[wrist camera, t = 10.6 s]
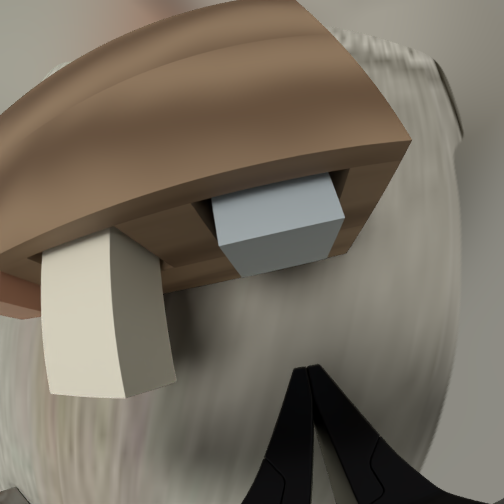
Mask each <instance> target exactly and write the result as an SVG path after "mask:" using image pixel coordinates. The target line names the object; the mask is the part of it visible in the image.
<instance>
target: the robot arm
mask: <svg viewBox="0 0 504 504" xmlns="http://www.w3.org/2000/svg"><path fill="white" fill-rule="evenodd" d="M314 427H315V431H316V434H317V438H318V441H319V444H320V448H321V451H322V455H323V458H324V462H325V465H326V469H327V472H328V476H329V479H330V483H331V486H332V490H333V493H334V497H335V501H336V504H488V503H484V502H479V501H474V500H471V499H467V498H464V497H460V496H457V495H453V494H450V493H448V492H445V491H443V490H442V489H440V488H438V487H436V486H435V485H434V484H432V483H431V482H430V481H429V480H427V479H426V478H425V477H424V476H422V475H421V474H420V473H419V472H417V471H416V470H415V469H414V468H412V467H411V466H410V465H409V464H408V463H407V462H405V461H404V460H403V459H402V458H401V457H400V456H399V455H398V454H397V453H396V452H395V451H394V450H393V449H392V448H391V447H390V446H389V445H388V444H387V443H386V441H385V440H384V439H383V438H382V437H379V436H380V435H379V434H378V432H377V431H376V430H375V429H374V428H373V427H372V425H371V424H370V423H369V422H368V421H367V420H366V418H365V417H364V416H363V415H362V414H361V413H360V411H359V410H358V409H357V408H356V407H355V406H354V404H353V403H352V402H351V401H350V400H349V399H348V397H347V396H346V395H345V394H344V393H343V391H342V390H341V389H340V388H339V387H338V386H337V384H336V383H335V382H334V381H333V380H332V378H331V377H330V376H329V375H328V374H327V372H326V371H325V370H324V369H323V368H322V366H321V365H319V364H315V365H310V366H308V367H307V368H306V367H298V368H294V369H293V372H292V375H291V379H290V382H289V385H288V388H287V392H286V395H285V398H284V401H283V404H282V407H281V410H280V413H279V416H278V419H277V422H276V425H275V428H274V431H273V434H272V437H271V439H270V442H269V445H268V448H267V450H266V453H265V456H264V458H265V459H263V461H262V463H261V466H260V469H259V471H258V473H257V475H256V478H255V480H254V482H253V484H252V486H251V488H250V490H249V491H248V493H247V495H246V497H245V498H244V500H243V502H242V503H241V504H311V503H312V484H313V453H314ZM494 504H504V498H503V499H501V500H500V501H498V502H496V503H494Z"/></svg>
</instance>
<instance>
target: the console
mask: <svg viewBox="0 0 504 504" xmlns="http://www.w3.org/2000/svg"><path fill="white" fill-rule="evenodd" d="M411 141H412V139H411V138H410V136H409V134H408V133H407V131H406V129H405V128H404V126H403V125H402V123H401V121H400V120H399V118H398V117H397V115H396V114H395V112H394V111H393V109H392V108H391V106H390V105H389V103H388V102H387V101H386V99H385V98H384V96H383V95H382V94H381V92H380V91H379V89H378V88H377V87H376V85H375V84H374V83H373V82H372V80H371V79H370V78H369V76H368V75H367V74H366V73H365V71H364V70H363V69H362V68H361V66H360V65H359V64H358V63H357V62H356V60H355V59H354V58H353V57H352V56H351V55H350V54H349V52H348V51H347V50H346V49H345V48H344V47H343V46H342V45H341V44H340V42H339V41H338V40H337V39H336V38H335V37H334V36H333V35H332V34H331V33H330V32H329V31H328V30H327V29H326V28H325V27H324V26H323V25H322V24H321V23H320V22H319V21H318V20H317V19H316V18H315V17H314V16H313V15H311V14H310V13H309V12H308V11H307V10H306V9H305V8H304V7H302V5H300V4H299V3H298V2H297V1H296V0H236V1H231V2H226V3H221V4H216V5H212V6H208V7H204V8H200V9H196V10H192V11H189V12H185V13H182V14H179V15H175V16H172V17H169V18H166V19H163V20H160V21H158V22H155V23H152V24H149V25H147V26H144V27H142V28H139V29H137V30H134V31H132V32H130V33H127V34H125V35H123V36H121V37H119V38H116V39H114V40H112V41H110V42H108V43H106V44H104V45H102V46H100V47H98V48H96V49H94V50H92V51H90V52H89V53H87V54H85V55H83V56H81V57H80V58H78V59H76V60H75V61H73V62H71V63H70V64H68V65H66V66H65V67H63V68H62V69H60V70H58V71H57V72H55V73H54V74H52V75H51V76H49V77H48V78H47V79H45V80H44V81H42V82H41V83H39V84H38V85H37V86H36V87H34V88H33V89H31V90H30V91H29V92H27V93H26V94H25V95H24V96H22V97H21V98H20V99H19V100H17V101H16V102H15V103H14V104H13V105H11V106H10V107H9V108H8V109H7V110H6V111H5V112H3V113H2V114H1V115H0V271H1V272H4V273H7V274H9V275H12V276H15V277H18V278H21V279H23V280H26V281H29V282H32V283H35V284H38V285H41V268H42V252H43V251H45V250H47V249H50V248H53V247H55V246H58V245H61V244H63V243H66V242H69V241H72V240H74V239H77V238H80V237H83V236H86V235H88V234H91V233H94V232H97V231H100V230H103V229H106V228H109V227H112V226H115V227H116V228H117V229H119V230H120V231H122V232H123V233H124V234H126V235H127V236H129V237H130V238H131V239H133V240H134V241H136V242H137V243H139V244H140V245H141V246H143V247H144V248H146V249H147V250H149V251H150V252H152V253H153V254H155V255H156V256H157V257H159V260H160V271H161V281H162V290H163V294H164V293H169V292H174V291H179V290H184V289H189V288H194V287H199V286H203V285H208V284H213V283H218V282H222V281H227V280H232V279H236V278H241V276H240V274H239V273H238V272H237V270H236V269H235V268H234V266H233V265H232V263H231V262H230V261H229V259H228V258H227V257H226V255H225V254H224V253H223V251H222V250H221V249H220V247H219V244H218V238H217V232H216V226H215V219H214V213H213V206H212V200H211V198H212V197H216V196H220V195H224V194H228V193H232V192H236V191H240V190H244V189H249V188H253V187H257V186H262V185H266V184H271V183H275V182H280V181H285V180H290V179H294V178H299V177H304V176H309V175H315V174H320V173H325V172H328V173H329V176H330V178H331V181H332V183H333V186H334V189H335V191H336V194H337V197H338V199H339V202H340V205H341V208H342V211H343V213H344V216H345V219H344V221H343V223H342V226H341V228H340V230H339V232H338V235H337V237H336V239H335V241H334V244H333V246H332V248H331V250H330V252H329V254H328V257H332V256H337V255H341V254H345V253H347V251H348V250H349V248H350V247H351V245H352V244H353V242H354V240H355V239H356V237H357V236H358V234H359V232H360V231H361V229H362V228H363V226H364V224H365V223H366V221H367V220H368V218H369V216H370V215H371V213H372V211H373V210H374V208H375V206H376V205H377V203H378V201H379V200H380V198H381V196H382V194H383V193H384V191H385V189H386V187H387V186H388V184H389V182H390V180H391V179H392V177H393V175H394V173H395V171H396V169H397V168H398V166H399V164H400V162H401V160H402V158H403V156H404V155H405V153H406V151H407V149H408V147H409V145H410V143H411ZM328 257H327V258H328Z"/></svg>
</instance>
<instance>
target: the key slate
mask: <svg viewBox="0 0 504 504" xmlns="http://www.w3.org/2000/svg"><path fill="white" fill-rule="evenodd" d="M211 200H212V206H213V213H214V219H215V226H216V232H217V238H218V244H219V247H220V249H221V250H222V251H223V253H224V254H225V255H226V257H227V258H228V259H229V261H230V262H231V263H232V265H233V266H234V268H235V269H236V270H237V272H238V273H239V274H240V276H241V277H242V278H244V277H248V276H253V275H257V274H262V273H266V272H271V271H275V270H280V269H284V268H288V267H293V266H297V265H301V264H306V263H310V262H314V261H318V260H323V259H327V257H328V254H329V252H330V250H331V248H332V246H333V244H334V241H335V239H336V237H337V235H338V232H339V230H340V228H341V226H342V223H343V221H344V219H345V216H344V213H343V211H342V208H341V205H340V202H339V199H338V197H337V194H336V191H335V189H334V186H333V183H332V181H331V178H330V176H329V173H328V172H325V173H320V174H315V175H309V176H304V177H299V178H294V179H290V180H285V181H280V182H275V183H271V184H266V185H262V186H257V187H253V188H249V189H244V190H240V191H236V192H232V193H228V194H224V195H220V196H216V197H212V198H211Z"/></svg>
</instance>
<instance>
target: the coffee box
mask: <svg viewBox="0 0 504 504" xmlns="http://www.w3.org/2000/svg"><path fill="white" fill-rule="evenodd" d="M0 504H29V503H28V502H27V500H26V499H25V498H24V497H23V496H22V494H21V493H20V492H19V491H18V489H17V488H16V487H14V488H11V489H7V490H4V491H1V492H0Z"/></svg>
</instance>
